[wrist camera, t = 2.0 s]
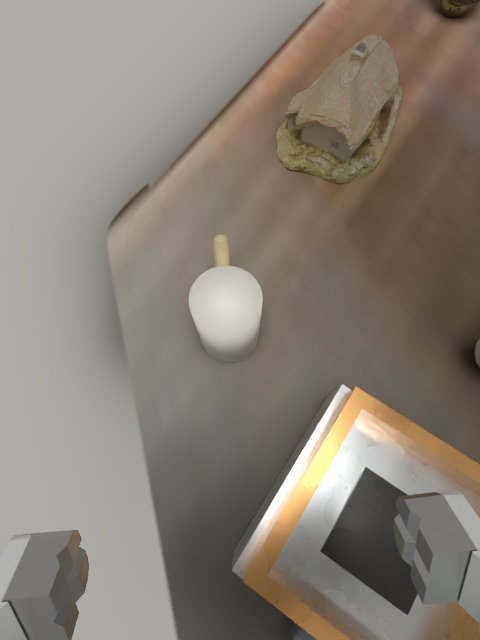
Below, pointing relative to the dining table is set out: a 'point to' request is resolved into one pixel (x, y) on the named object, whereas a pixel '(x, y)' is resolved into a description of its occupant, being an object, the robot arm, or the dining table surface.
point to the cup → (455, 7)
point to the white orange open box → (353, 527)
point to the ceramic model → (343, 115)
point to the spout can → (226, 307)
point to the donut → (477, 352)
